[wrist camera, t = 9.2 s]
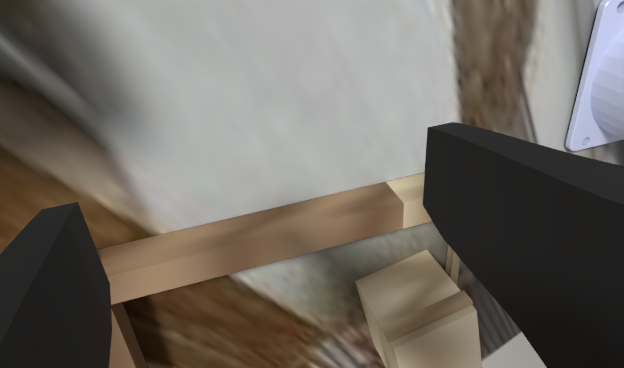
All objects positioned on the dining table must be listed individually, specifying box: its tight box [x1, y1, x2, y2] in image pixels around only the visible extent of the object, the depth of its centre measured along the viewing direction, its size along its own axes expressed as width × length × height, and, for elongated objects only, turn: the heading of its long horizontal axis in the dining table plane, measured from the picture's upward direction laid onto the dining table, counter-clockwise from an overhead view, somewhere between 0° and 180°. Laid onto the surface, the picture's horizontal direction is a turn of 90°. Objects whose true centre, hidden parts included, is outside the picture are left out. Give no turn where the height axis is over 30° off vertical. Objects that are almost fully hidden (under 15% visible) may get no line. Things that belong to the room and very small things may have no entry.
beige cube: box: [355, 250, 482, 368], centre depth 27 cm, size 5×6×5 cm
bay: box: [97, 173, 460, 368], centre depth 27 cm, size 20×17×2 cm
